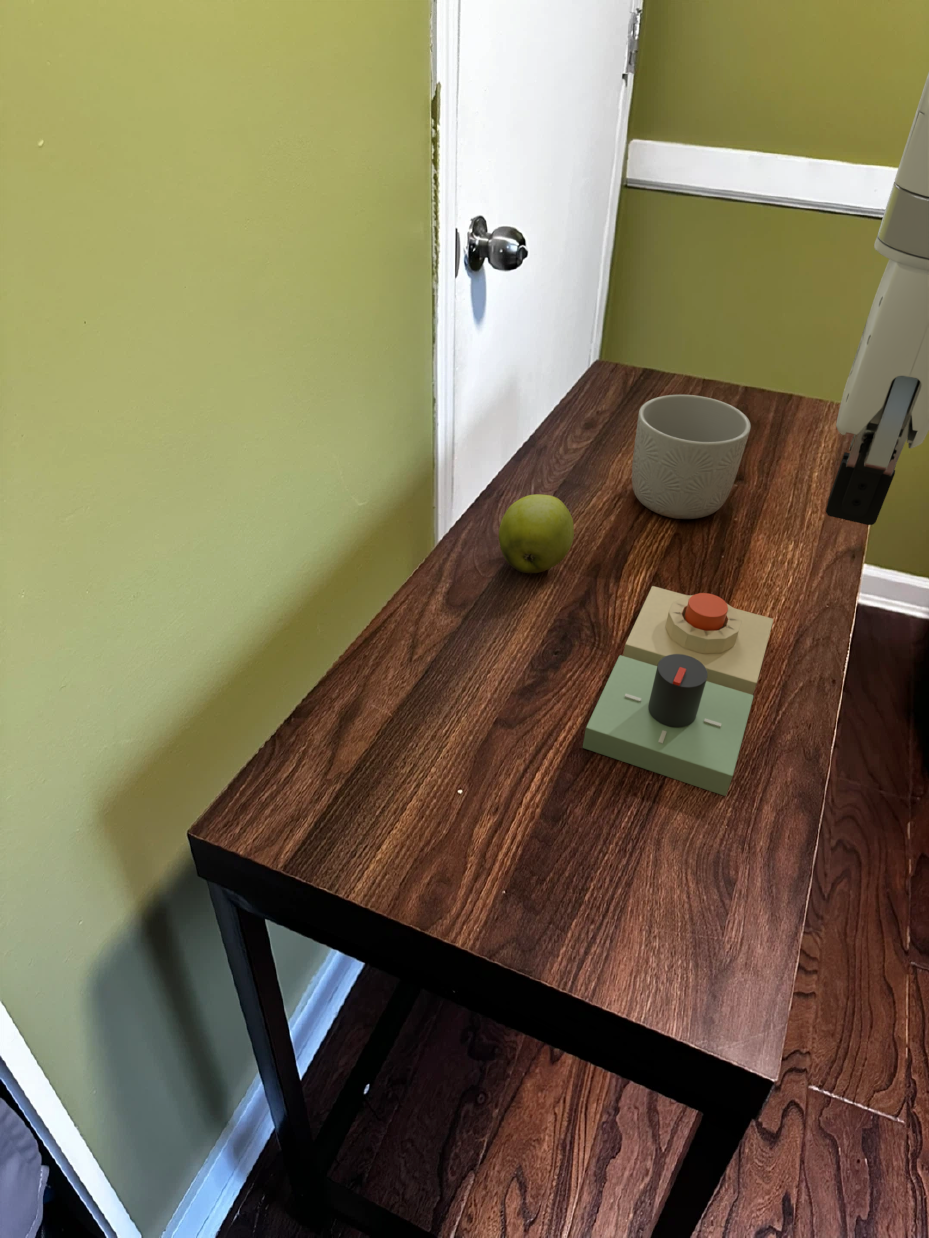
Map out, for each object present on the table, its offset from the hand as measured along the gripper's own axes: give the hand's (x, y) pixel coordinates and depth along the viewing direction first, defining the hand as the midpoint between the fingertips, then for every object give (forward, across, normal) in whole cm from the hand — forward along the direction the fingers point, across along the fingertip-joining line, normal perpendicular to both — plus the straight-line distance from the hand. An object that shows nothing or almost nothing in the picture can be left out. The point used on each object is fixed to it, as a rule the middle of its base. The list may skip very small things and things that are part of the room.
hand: (850, 514), depth 58 cm
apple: (+23, -16, -27) cm, 39 cm away
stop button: (+19, -10, -8) cm, 23 cm away
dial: (+20, +2, -8) cm, 22 cm away
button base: (+23, -10, -8) cm, 26 cm away
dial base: (+23, +2, -8) cm, 24 cm away
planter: (+23, -36, -16) cm, 46 cm away
